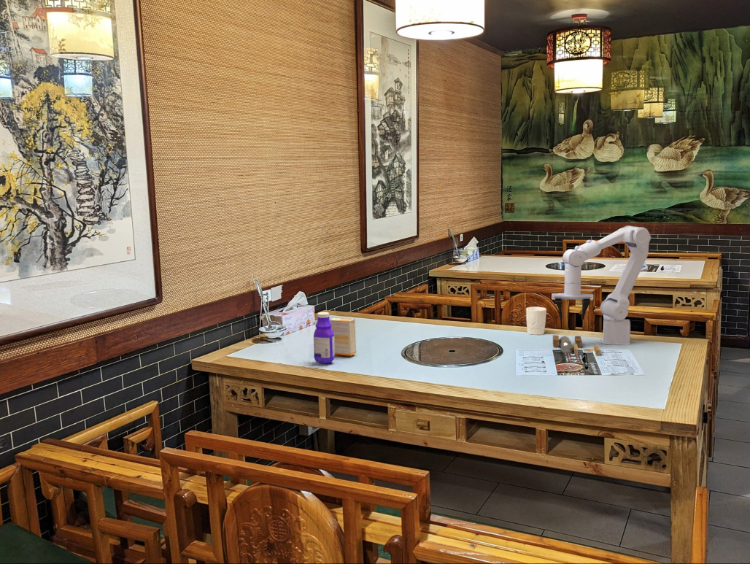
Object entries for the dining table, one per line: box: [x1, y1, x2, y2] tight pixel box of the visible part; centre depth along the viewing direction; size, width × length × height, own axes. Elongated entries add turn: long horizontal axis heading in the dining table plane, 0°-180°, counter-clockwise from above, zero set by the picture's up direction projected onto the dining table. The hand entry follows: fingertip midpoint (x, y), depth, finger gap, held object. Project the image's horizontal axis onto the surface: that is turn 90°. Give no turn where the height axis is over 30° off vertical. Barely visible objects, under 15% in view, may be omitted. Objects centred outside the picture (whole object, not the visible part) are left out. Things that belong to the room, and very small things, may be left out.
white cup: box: [525, 306, 547, 336], centre depth 270 cm, size 8×8×10 cm
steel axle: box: [559, 335, 574, 354], centre depth 243 cm, size 12×4×4 cm, turn 170°
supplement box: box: [330, 316, 357, 357], centre depth 245 cm, size 8×5×13 cm, turn 65°
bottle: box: [313, 311, 336, 364], centre depth 235 cm, size 7×6×17 cm
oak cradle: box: [572, 343, 601, 357], centre depth 238 cm, size 9×9×3 cm
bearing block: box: [552, 334, 583, 349], centre depth 249 cm, size 10×7×3 cm
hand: (571, 318), depth 247 cm, fingers open, 7 cm apart
